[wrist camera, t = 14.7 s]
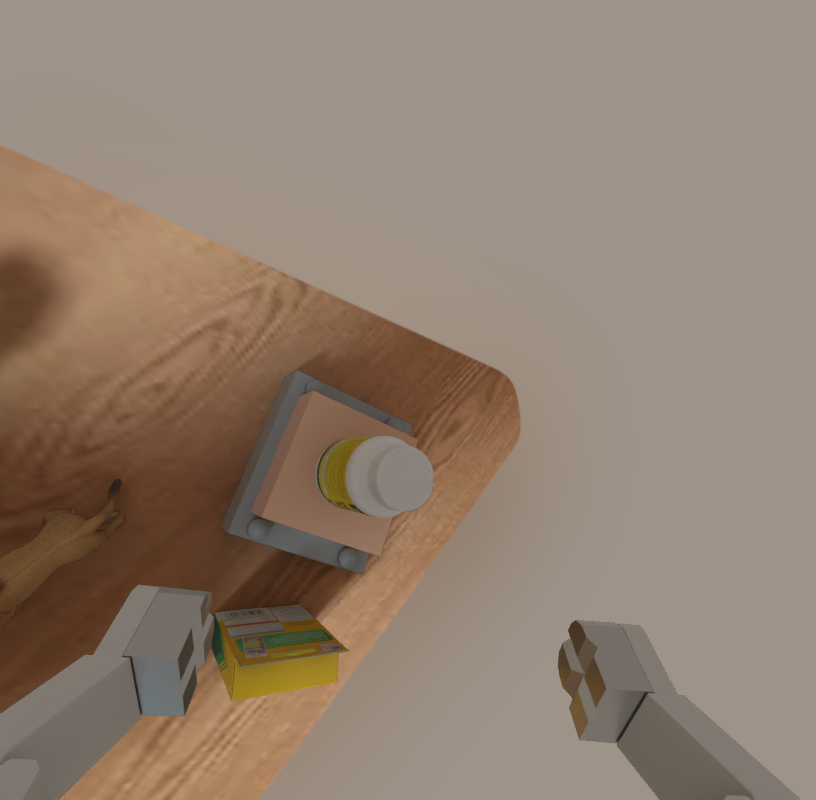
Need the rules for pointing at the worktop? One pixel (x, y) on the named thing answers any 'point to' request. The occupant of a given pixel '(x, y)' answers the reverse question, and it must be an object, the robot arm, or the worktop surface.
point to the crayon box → (273, 651)
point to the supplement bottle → (374, 476)
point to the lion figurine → (53, 551)
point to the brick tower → (309, 476)
